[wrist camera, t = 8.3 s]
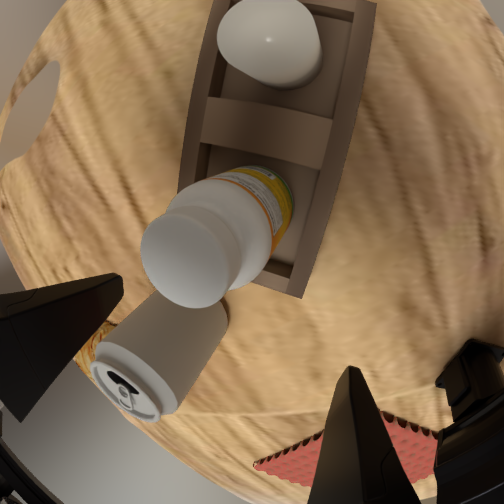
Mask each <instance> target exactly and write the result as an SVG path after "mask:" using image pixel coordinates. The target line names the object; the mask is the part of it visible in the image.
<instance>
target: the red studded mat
mask: <svg viewBox="0 0 504 504" xmlns="http://www.w3.org/2000/svg"><path fill="white" fill-rule="evenodd" d="M379 412H380V415H381V417H382V419H383V422H384V424H385V426H386V429H387V431H388V433H389V436H390V438H391V441H392V443H393V447H394V448H395V450H396V453H397V455H398V457H399V460H400V462H401V464H402V467H403V469H404V471H405V473H406V475H407V477H408V479H409V481H410V483H415V482H416V481H417V480H419V479H425V478H427V477H428V475H430V474H434V471H433V467H434V460H435V455H436V449H437V442H438V440H436V439H434V437H433V435H432V430H431V431H430V430H428V431H429V435H428V437H426V436H425V435H424V434H423V433H422V430H421V427H419V425H418V432H417V433H415V432H413V431H412V429H411V427H410V422H408V423H407V421H406V423H407V425H406V428H402V427H400V426H399V424H398V422H397V417H394V415H393V418H394V420H393V422H392V423H388V422H387V421H386V420H385V419H384V416H383V411H380V409H379ZM323 434H324V430H323V432H322V435H321V437H320V438H319V439H318V440H317V441H314V436H315V434H314V436H311V439H310V441H309V443H308V444H307V445H306V446H303V442H304V440H303V441H301V442H300V445H299V447H298V448H297V449H296V450H295V451H293V447H294V445H293V446H291V448H290V450H289V452H288V453H287V454H286V455H284V451H285V449H284V450H282V452H281V454H280V456H279V457H278V458H275V456H276V454H277V453H275V454H274V455H273V457H272V459H271V460H270V461H269V462H268V458H269V456H268V457H266V459H265V461H264V462H263V463H262V464H261V460H262V459H261V460H259V462H258V464H257V465H256V466H255V467H254V463H255V461H254V463H253V467H254V468H255V469H256V470H258V471H265V472H266V473H267V474H268V475H276V476H278V477H279V478H280V479H287V480H289V481H290V482H291V483H300V484H301V485H302V486H310V487H311V488H312V484H313V480H314V476H315V472H316V467H317V463H318V458H319V454H320V449H321V444H322V439H323ZM438 435H439V433H438Z"/></svg>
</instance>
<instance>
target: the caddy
mask: <svg viewBox="0 0 504 504" xmlns="http://www.w3.org/2000/svg"><path fill="white" fill-rule="evenodd" d="M240 1H242V0H214V1H213V5H212V8H211V12H210V15H209V19H208V23H207V27H206V30H205V34H204V38H203V43H202V47H201V51H200V55H199V60H198V64H197V69H196V74H195V79H194V84H193V89H192V94H191V99H190V105H189V111H188V117H187V123H186V129H185V136H184V142H183V150H182V157H181V165H180V173H179V182H178V191H177V194H178V193H179V192H180V191H182V190H183V189H184V188H186V187H188V186H190V185H192V184H194V183H196V182H198V181H201V180H204V179H206V178H209V177H212V176H215V175H218V174H221V173H224V172H227V171H229V170H232V169H235V168H239V167H242V166H248V165H257V166H263V167H266V168H268V169H270V170H272V171H274V172H276V173H277V174H278V175H279V176H281V177H282V178H283V179H284V181H285V182H286V183H287V185H288V187H289V189H290V191H291V193H292V197H293V202H294V212H293V217H292V220H291V222H290V225H289V227H288V229H287V230H286V232H285V234H284V235H283V237H282V238H281V240H280V242H279V244H278V245H277V247H276V248H275V250H274V252H273V253H272V255H271V257H270V258H269V260H268V262H267V263H266V265H265V267H264V268H263V269H262V271H261V272H260V273H259V275H258V276H257V277H256V278H255V279H254V280H252V281H251V282H253V283H256V284H258V285H261V286H264V287H267V288H270V289H273V290H276V291H279V292H282V293H285V294H288V295H291V296H294V297H297V298H300V299H302V297H303V294H304V291H305V288H306V286H307V283H308V280H309V277H310V274H311V271H312V268H313V266H314V263H315V260H316V257H317V254H318V251H319V248H320V244H321V241H322V238H323V235H324V232H325V229H326V226H327V222H328V219H329V216H330V213H331V209H332V206H333V203H334V199H335V196H336V192H337V189H338V185H339V182H340V178H341V175H342V171H343V167H344V164H345V160H346V156H347V152H348V148H349V144H350V140H351V136H352V132H353V128H354V124H355V120H356V116H357V111H358V107H359V102H360V98H361V93H362V88H363V83H364V78H365V73H366V68H367V63H368V57H369V52H370V46H371V40H372V34H373V27H374V20H375V13H376V6H377V3H373V2H370V1H366V0H297V1H299V2H300V3H302V4H303V5H304V6H305V7H306V8H307V9H308V10H309V12H310V13H311V15H312V16H313V19H314V21H315V25H316V28H317V32H318V35H319V39H320V43H321V47H322V51H323V59H324V60H323V66H322V69H321V71H320V73H319V74H318V76H317V77H316V78H315V79H314V80H313V81H312V82H311V83H309V84H308V85H306V86H304V87H302V88H299V89H295V90H289V91H283V90H276V89H273V88H270V87H268V86H266V85H264V84H262V83H261V82H259V81H257V80H256V79H254V78H252V77H251V76H249V75H247V74H246V73H244V72H242V71H240V70H239V69H237V68H235V67H234V66H232V65H231V64H230V63H228V62H227V61H226V60H225V58H224V57H223V56H222V54H221V52H220V50H219V47H218V43H217V32H218V27H219V24H220V22H221V20H222V18H223V17H224V15H225V14H226V13H227V12H228V11H229V10H230V9H231V8H232V7H233V6H234V5H236V4H237V3H238V2H240Z"/></svg>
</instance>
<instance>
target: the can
mask: <svg viewBox="0 0 504 504" xmlns="http://www.w3.org/2000/svg"><path fill="white" fill-rule="evenodd" d="M227 326H228V321H227V314H226V312H225V310H224V307H223V305H222V303H221V302H220V301H218V302H216V303H215V304H213V305H211V306H208V307H205V308H188V307H184V306H181V305H178V304H176V303H174V302H172V301H171V300H169V299H168V298H166V297H165V296H164V295H162V294H161V293H160V292H159V291H158V290H156V291H155V292H154V293H153V294H151V295H150V296H149V297H148V298H147V299H146V300H145V301H144V302H143V303H142V304H140V305H139V306H138V307H137V308H136V309H135V310H134V311H133V312H132V313H131V314H129V315H128V316H127V317H126V318H125V319H124V320H123V321H122V322H121V323H120V324H119V325H118V326H116V327H115V328H114V329H113V330H112V331H111V332H110V333H109V334H108V335H107V336H106V337H105V338H104V339H103V340H102V341H100V342H99V343H98V344H97V345H96V351H95V361H93V362H91V363H90V371H91V374H92V377H93V379H94V380H95V382H96V384H97V385H98V387H99V388H100V389H101V390H102V391H103V393H104V394H105V395H106V396H107V397H108V398H109V399H110V400H111V401H112V402H113V403H115V404H116V405H117V406H118V407H120V408H121V409H122V410H124V411H125V412H127V413H128V414H130V415H132V416H134V417H136V418H138V419H140V420H143V421H146V422H157V421H159V420H160V419H161V416H160V415H167V414H172V413H174V412H175V411H176V410H177V409H178V408H179V406H180V404H181V403H182V401H183V400H184V398H185V397H186V395H187V394H188V392H189V390H190V389H191V387H192V386H193V384H194V383H195V381H196V379H197V378H198V376H199V375H200V373H201V371H202V370H203V368H204V367H205V365H206V364H207V362H208V360H209V359H210V357H211V356H212V354H213V352H214V351H215V349H216V348H217V346H218V344H219V343H220V341H221V340H222V338H223V336H224V335H225V333H226V330H227Z"/></svg>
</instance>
